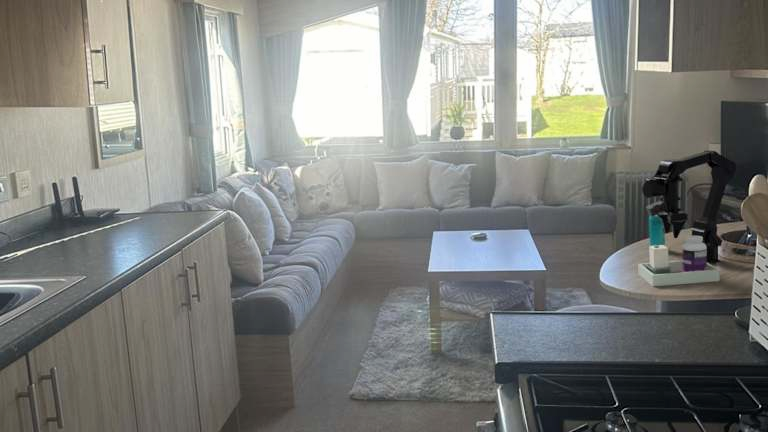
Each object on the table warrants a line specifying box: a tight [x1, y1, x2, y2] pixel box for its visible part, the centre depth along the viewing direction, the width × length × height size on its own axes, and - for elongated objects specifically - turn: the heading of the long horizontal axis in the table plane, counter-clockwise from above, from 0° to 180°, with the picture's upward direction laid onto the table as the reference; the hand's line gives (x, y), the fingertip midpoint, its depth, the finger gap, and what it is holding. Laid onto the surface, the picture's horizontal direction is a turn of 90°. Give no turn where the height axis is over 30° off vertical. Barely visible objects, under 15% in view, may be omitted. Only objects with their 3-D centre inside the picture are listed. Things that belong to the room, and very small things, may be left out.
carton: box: [648, 245, 669, 268], centre depth 269 cm, size 5×5×8 cm
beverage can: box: [648, 215, 666, 246], centre depth 309 cm, size 6×6×15 cm
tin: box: [646, 264, 672, 275], centre depth 271 cm, size 7×7×5 cm
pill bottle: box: [681, 235, 708, 272], centre depth 269 cm, size 8×8×14 cm
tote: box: [637, 260, 720, 287], centre depth 270 cm, size 23×16×4 cm
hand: (671, 235), depth 281 cm, fingers open, 9 cm apart
